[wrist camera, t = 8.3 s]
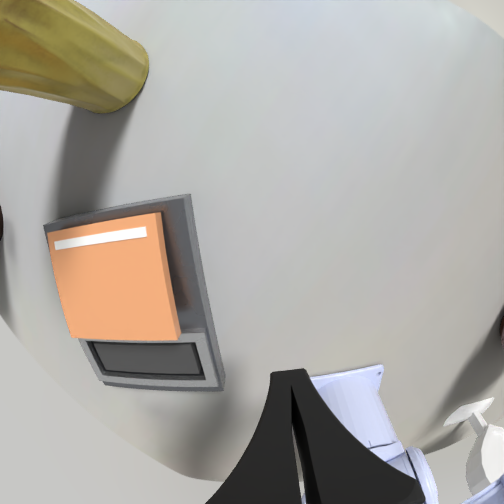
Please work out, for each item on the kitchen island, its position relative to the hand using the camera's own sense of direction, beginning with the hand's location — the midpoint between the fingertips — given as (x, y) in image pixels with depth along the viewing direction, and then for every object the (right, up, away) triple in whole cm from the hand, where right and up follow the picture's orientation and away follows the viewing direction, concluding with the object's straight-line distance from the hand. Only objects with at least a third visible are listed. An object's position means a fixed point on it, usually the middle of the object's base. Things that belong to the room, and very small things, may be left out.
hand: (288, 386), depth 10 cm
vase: (-12, +18, +5) cm, 22 cm away
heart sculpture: (+35, -21, +18) cm, 45 cm away
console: (-11, +1, +11) cm, 15 cm away
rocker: (-11, +3, +6) cm, 13 cm away
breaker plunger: (-10, -3, +12) cm, 16 cm away
